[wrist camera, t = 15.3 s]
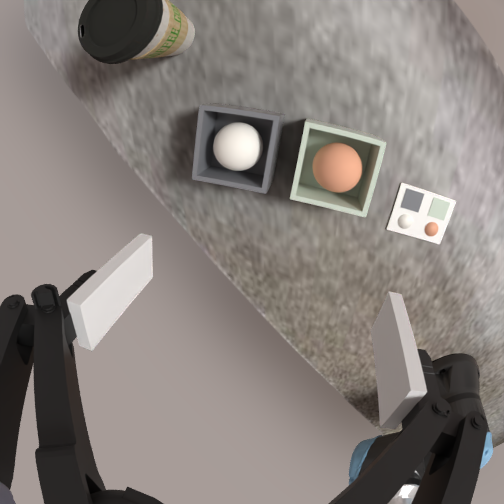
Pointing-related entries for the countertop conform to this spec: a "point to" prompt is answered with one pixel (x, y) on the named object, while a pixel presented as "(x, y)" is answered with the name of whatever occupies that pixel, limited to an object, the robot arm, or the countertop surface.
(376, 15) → the countertop surface
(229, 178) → the grey open cubby box
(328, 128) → the sage open box
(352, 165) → the ball terracotta
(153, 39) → the coffee cup
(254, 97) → the countertop surface
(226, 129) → the ball white
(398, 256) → the countertop surface
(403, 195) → the card
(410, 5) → the countertop surface
